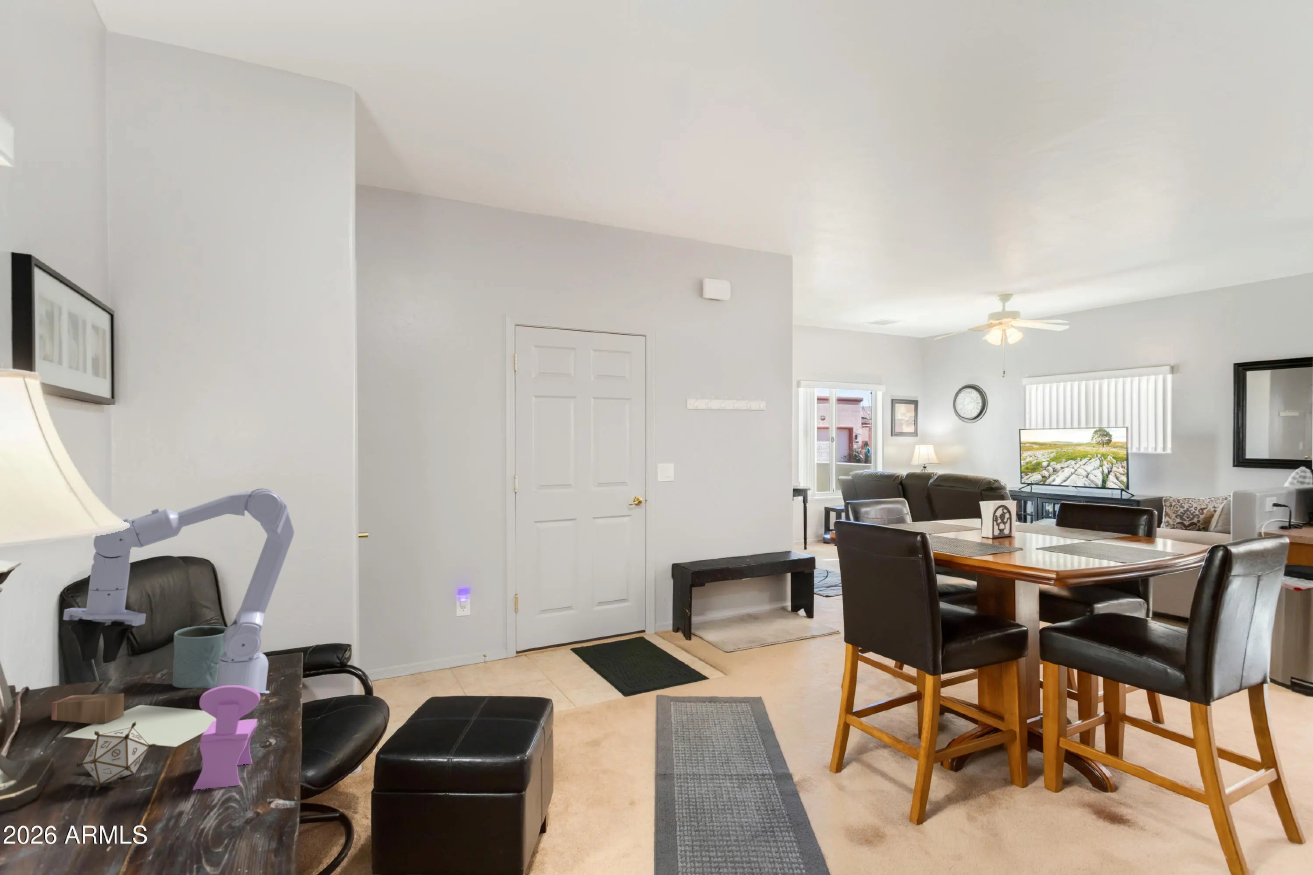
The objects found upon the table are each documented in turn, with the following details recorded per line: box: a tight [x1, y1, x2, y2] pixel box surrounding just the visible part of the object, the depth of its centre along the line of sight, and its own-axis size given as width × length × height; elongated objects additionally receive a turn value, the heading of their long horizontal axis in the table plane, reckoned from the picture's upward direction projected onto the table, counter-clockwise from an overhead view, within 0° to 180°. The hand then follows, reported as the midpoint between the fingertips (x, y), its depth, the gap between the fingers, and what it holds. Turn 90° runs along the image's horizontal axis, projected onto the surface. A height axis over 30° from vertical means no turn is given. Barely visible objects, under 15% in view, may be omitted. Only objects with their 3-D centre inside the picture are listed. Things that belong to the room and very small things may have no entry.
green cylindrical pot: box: [171, 625, 227, 689], centre depth 143 cm, size 10×10×12 cm
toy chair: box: [192, 685, 261, 791], centre depth 105 cm, size 8×9×15 cm
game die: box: [74, 722, 158, 791], centre depth 101 cm, size 9×8×10 cm
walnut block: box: [51, 692, 125, 725], centre depth 120 cm, size 4×4×10 cm
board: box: [62, 704, 216, 748], centre depth 120 cm, size 16×20×1 cm
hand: (99, 660), depth 124 cm, fingers open, 3 cm apart
